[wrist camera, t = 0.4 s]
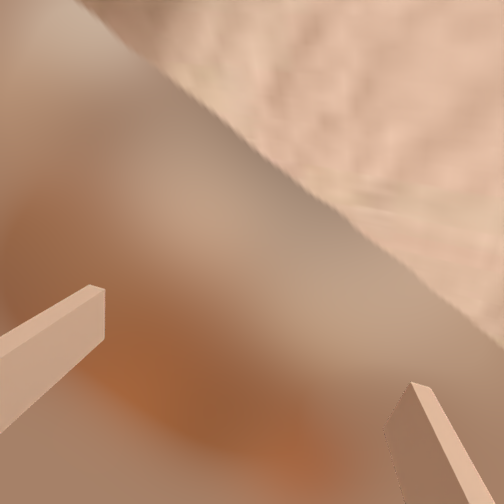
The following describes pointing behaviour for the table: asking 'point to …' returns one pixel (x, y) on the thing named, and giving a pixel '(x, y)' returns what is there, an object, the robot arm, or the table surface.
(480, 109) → the table surface
